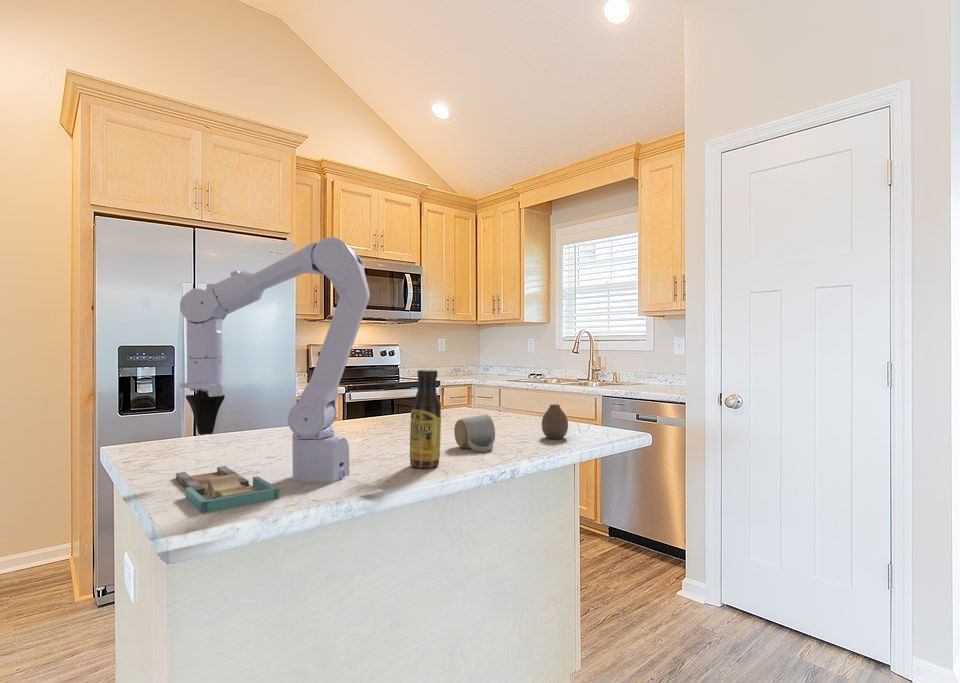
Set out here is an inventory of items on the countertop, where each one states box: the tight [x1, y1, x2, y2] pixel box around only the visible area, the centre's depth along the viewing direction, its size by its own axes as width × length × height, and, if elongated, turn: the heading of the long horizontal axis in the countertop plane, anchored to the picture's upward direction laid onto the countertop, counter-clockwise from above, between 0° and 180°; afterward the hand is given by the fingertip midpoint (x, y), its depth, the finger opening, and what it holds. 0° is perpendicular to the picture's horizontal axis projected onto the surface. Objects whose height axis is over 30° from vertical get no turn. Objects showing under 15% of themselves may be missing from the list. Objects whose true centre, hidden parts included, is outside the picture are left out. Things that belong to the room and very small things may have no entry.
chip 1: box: [207, 474, 241, 499], centre depth 87 cm, size 4×4×2 cm
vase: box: [541, 403, 569, 440], centre depth 142 cm, size 7×7×9 cm
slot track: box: [173, 465, 252, 496], centre depth 94 cm, size 14×9×2 cm, turn 40°
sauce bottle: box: [409, 369, 442, 469], centre depth 111 cm, size 7×6×20 cm
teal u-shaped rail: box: [185, 475, 280, 514], centre depth 85 cm, size 10×11×3 cm
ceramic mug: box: [453, 414, 496, 453], centre depth 129 cm, size 11×8×8 cm
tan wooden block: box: [217, 485, 253, 498], centre depth 84 cm, size 4×4×2 cm
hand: (205, 433), depth 97 cm, fingers closed
